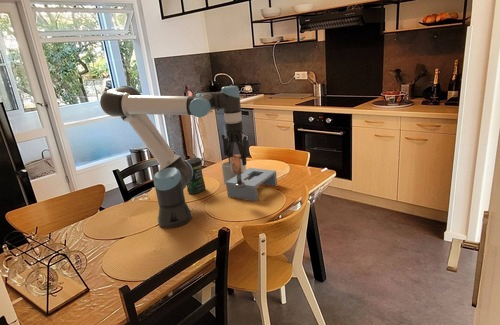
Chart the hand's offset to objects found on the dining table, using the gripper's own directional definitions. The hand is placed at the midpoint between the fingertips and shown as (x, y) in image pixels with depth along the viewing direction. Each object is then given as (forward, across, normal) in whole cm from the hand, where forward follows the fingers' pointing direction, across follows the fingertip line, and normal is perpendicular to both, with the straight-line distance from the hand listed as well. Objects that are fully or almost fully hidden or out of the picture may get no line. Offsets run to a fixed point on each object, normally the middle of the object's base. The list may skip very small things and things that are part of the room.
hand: (238, 170), depth 156 cm
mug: (+18, +22, -24) cm, 38 cm away
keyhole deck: (+17, +4, -16) cm, 24 cm away
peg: (+8, 0, 0) cm, 8 cm away
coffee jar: (+18, +33, -5) cm, 38 cm away
